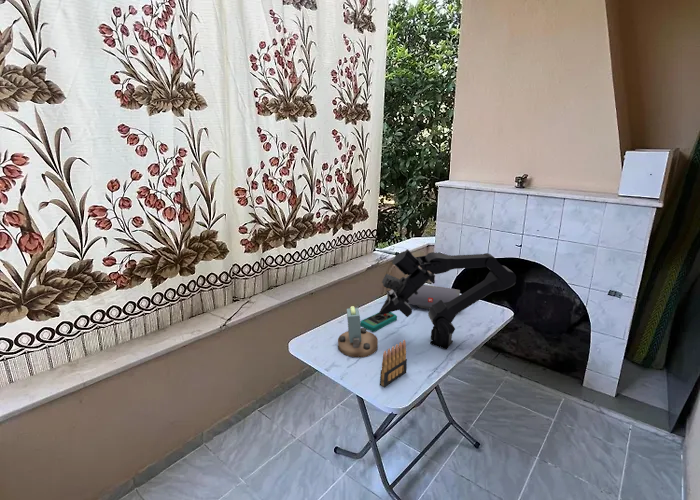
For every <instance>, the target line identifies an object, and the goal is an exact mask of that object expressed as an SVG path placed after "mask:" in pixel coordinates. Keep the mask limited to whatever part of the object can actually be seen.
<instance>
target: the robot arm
mask: <svg viewBox="0 0 700 500" xmlns="http://www.w3.org/2000/svg"><path fill="white" fill-rule="evenodd" d="M392 264H393V266H395V267H396V268H397V269H398V270H399V271H400V272H401V273H402V274H403V275H404V276H402V277H401V278H398V277H396V276H393V275H390V274H388V273H385V275H384V277H383V279H382V281H381V283H382V284H383V287H384V288H386V289H390V290H386V295H387V296H386V299H385V301H384V303H383V305H382V306H381V308H380V310H379V312H380V314H381V315H383V314H386V313H389V312H392V313H393V312H396V311H400V312H401V313H402V315H404V316H405V317H407V318H408V317H409V316H411V315H412V313H413V309H412V307H411V304H408V302H409V298H410V297H411V296H412V295H413V294H414V293H415V294H416V295H417V294H418V291H417V290H419V289H420V288H421V287H422V286H423V285H426V283H427V282H429V281H430V282H431V283H432V284H435V283H436V280H435V277H436V275H440V274H444V273H448V272H449V271H451V270H455V269H456V270H458V269H459V270H460V269H461V270H462V269H478V268H479V269H480V268H487V269H489V272H488V274H487V275H486V276H485V278H484V279H483V280H482V281H480V282H478V283H476V285H474V286H472V287H471V288H469V289H468V290H466V291H464V292H463V293H460V295H459V296H458V297H456V298H455V299H453V300H451V301H450V302H445V303H444V302H443V301H442V300H440V301H438V302H437V303H436V304H433V305H432V307H431V308H430V309H428V312H427V314H428V315H427V316H428V318H429V319H430V322H431V323H432V325H433V326H432V329H431V331H430V332H431V333H430V341H429V344H430V345H431V346H435V347H438V348H440V349H444V350H448V349H449V348H450V347H451V345H453V343H454V340H453V334H454V333H455V330H456V327H455V326H454V325H453V321H454V320H455V318H456V317H457V316H458V314H459V313H461V312H463V311H464V310H466V309H468V308H469V307H470V306H472V305H474V304H475V303H477V302H479V301H481V300H482V299H484V298H485V297H486V296H489V295H490V294H492V293H493V292H500V291H504V290H506V289H509V288H511V287H513V286H515V284H516V283H517V282H516V281H517V275H516V274H515V272H513V271H512V270H511V269H509V267H507V266H505V265H502V264H501V263H500V262H499V261H498V260H497V259H496V258H495V256H493V255H492V254H490V253H479V254H477V253H476V254H474V253H473V254H456V255H450V254H445V253H441V252H434V251H432V252H428V253H426V255H421V256H415V255H413V254H412V252H411V251H410V250H409V249H406V250H404V251H401V252H400V253H397V255H395V257H394V258H393V260H392ZM405 275H407V276H406V277H405Z"/></svg>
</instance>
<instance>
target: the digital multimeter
mask: <svg viewBox="0 0 700 500" xmlns="http://www.w3.org/2000/svg"><path fill="white" fill-rule="evenodd" d="M397 320H398V316H397V315H396V314H395V313H393V312H389V313H386V314H383V315H381V314H380V311H379V312H376V313H375V314H372V315H370V316H368V317H366V318H363V319H362V320H360V326H361V328H366V331H367V330H368V331H369V332H371V333H372V332H373V333H375V332H376V331H379V330H380V329H382V328H384V327H386V326H388V325H390V324H392V323H394V322H396V321H397Z"/></svg>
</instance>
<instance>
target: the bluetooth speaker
mask: <svg viewBox="0 0 700 500" xmlns="http://www.w3.org/2000/svg"><path fill="white" fill-rule="evenodd" d="M417 291H418V294H417V295H416V294H415V293H414V294H413V295H412V296H411V297H410V298H409V302H408V304H409V305H413V306H417V307H418V308H420V309H426V310H429V309H430V308H431V307H432V305H433V304H436V303H437V302H438V301H440V300H442V301H443V302H444V303H445V302H450V301H451V300H453V299H455V298H456V297H458V296H459V295H461V290H460V289H455V288H451V287H445V286H436V285H429V284H424V285H423V286H422V287H421V288H420V289H419V290H417Z"/></svg>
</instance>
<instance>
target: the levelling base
mask: <svg viewBox="0 0 700 500" xmlns="http://www.w3.org/2000/svg"><path fill="white" fill-rule="evenodd" d="M337 348H338V350H339V352H340V353H342V354H343V355H345V356H346V357H351V358H359V359H361V358H366V357H370V356H372V355H374V354H376V352H377V351H378V348H379V339H378V337H377V336H376V334H374V333H372V331H369V330H368V331H367V329H366V328H364V327H361V342H359V338H353V343H350V340H349V332H348V330H347V331H345V332H342V333H341V334H340V335H339V337H338V338H337Z"/></svg>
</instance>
